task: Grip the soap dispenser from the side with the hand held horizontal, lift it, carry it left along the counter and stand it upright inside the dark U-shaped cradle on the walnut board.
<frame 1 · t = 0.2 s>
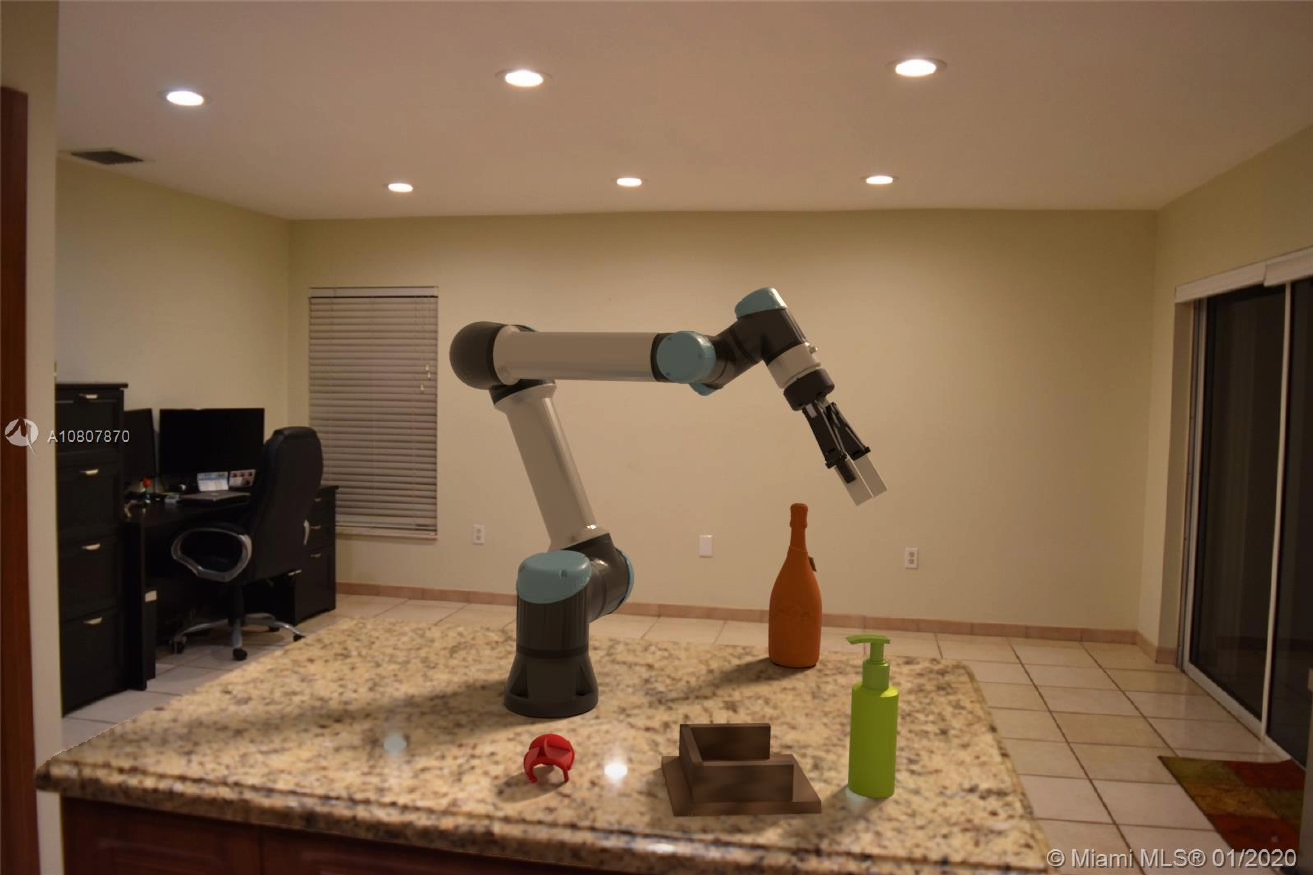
hand: (873, 497, 137), 35 cm above the counter, tool tilted 35°, fingers open, 13 cm apart
cap: (548, 779, 118), on the counter
wine bottle: (793, 662, 170), on the counter
soap dispenser: (866, 789, 117), on the counter
u rest: (736, 788, 116), on the counter
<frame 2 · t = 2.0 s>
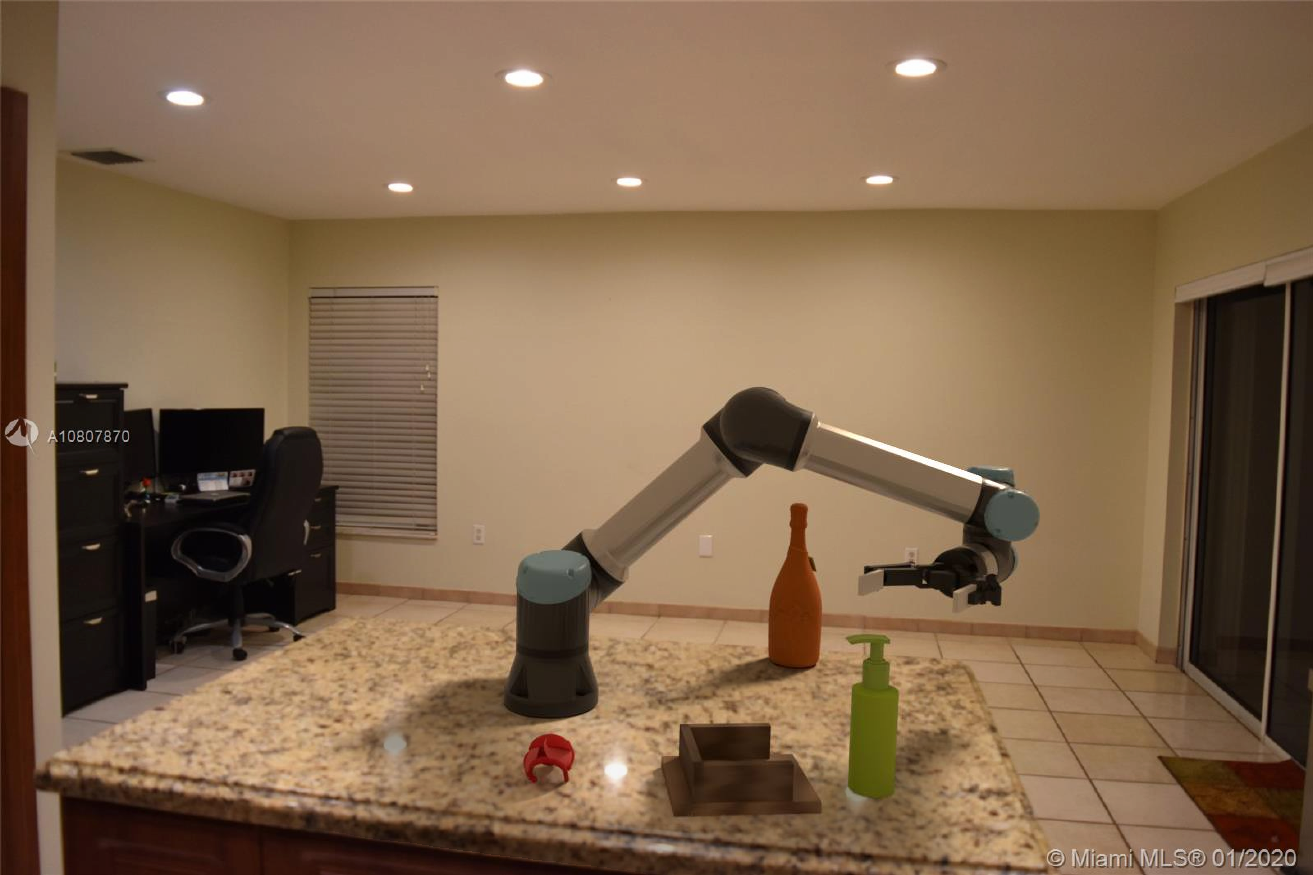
hand: (906, 594, 123), 24 cm above the counter, tool horizontal, fingers open, 13 cm apart
nothing on the counter moved.
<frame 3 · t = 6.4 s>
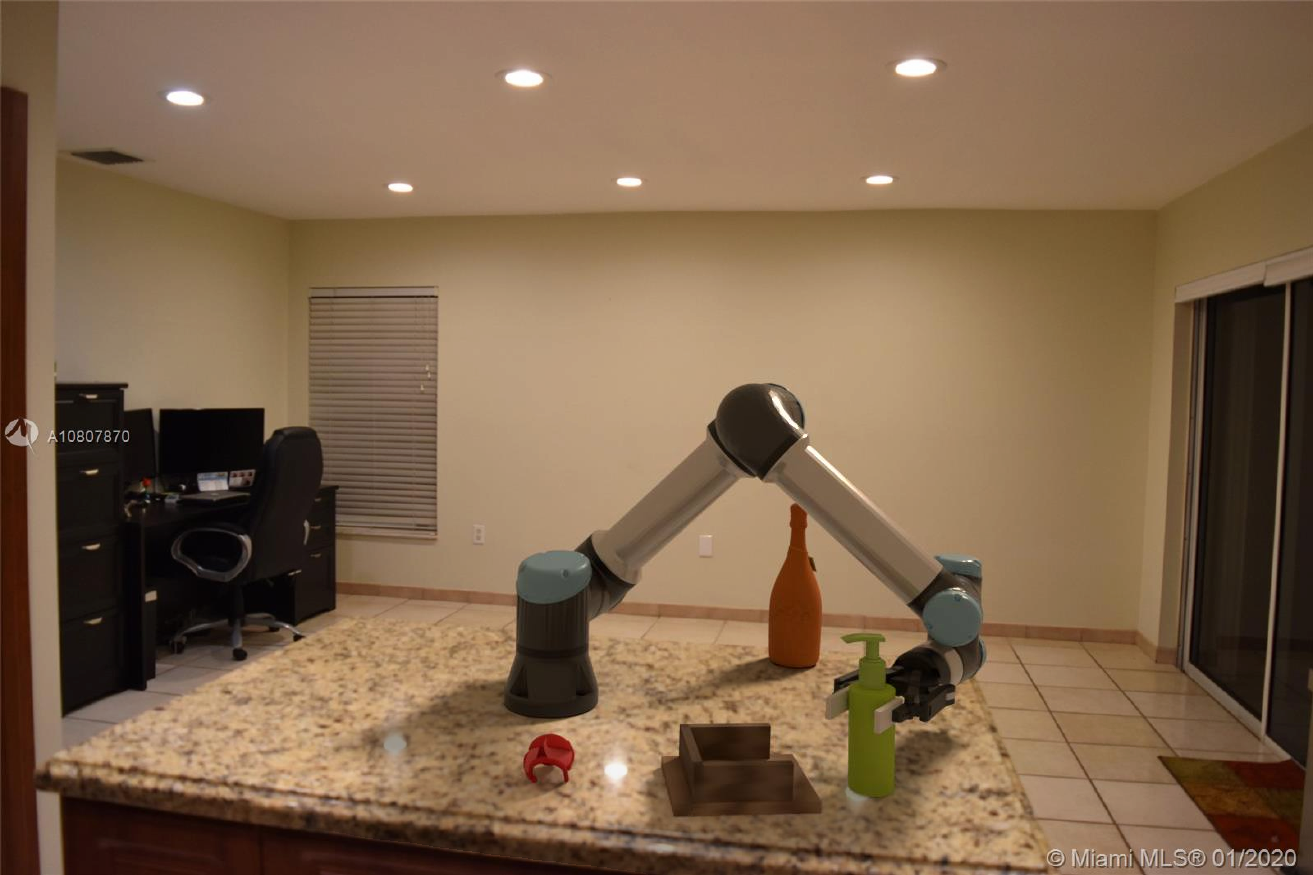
hand: (852, 715, 113), 11 cm above the counter, tool horizontal, fingers closed on soap dispenser, 6 cm apart
soap dispenser: (867, 789, 117), on the counter, touching gripper
everything else where it was.
when the fingers open (14 cm above the counter, at t = 11.4 s): soap dispenser drops 2 cm, resting on u rest.
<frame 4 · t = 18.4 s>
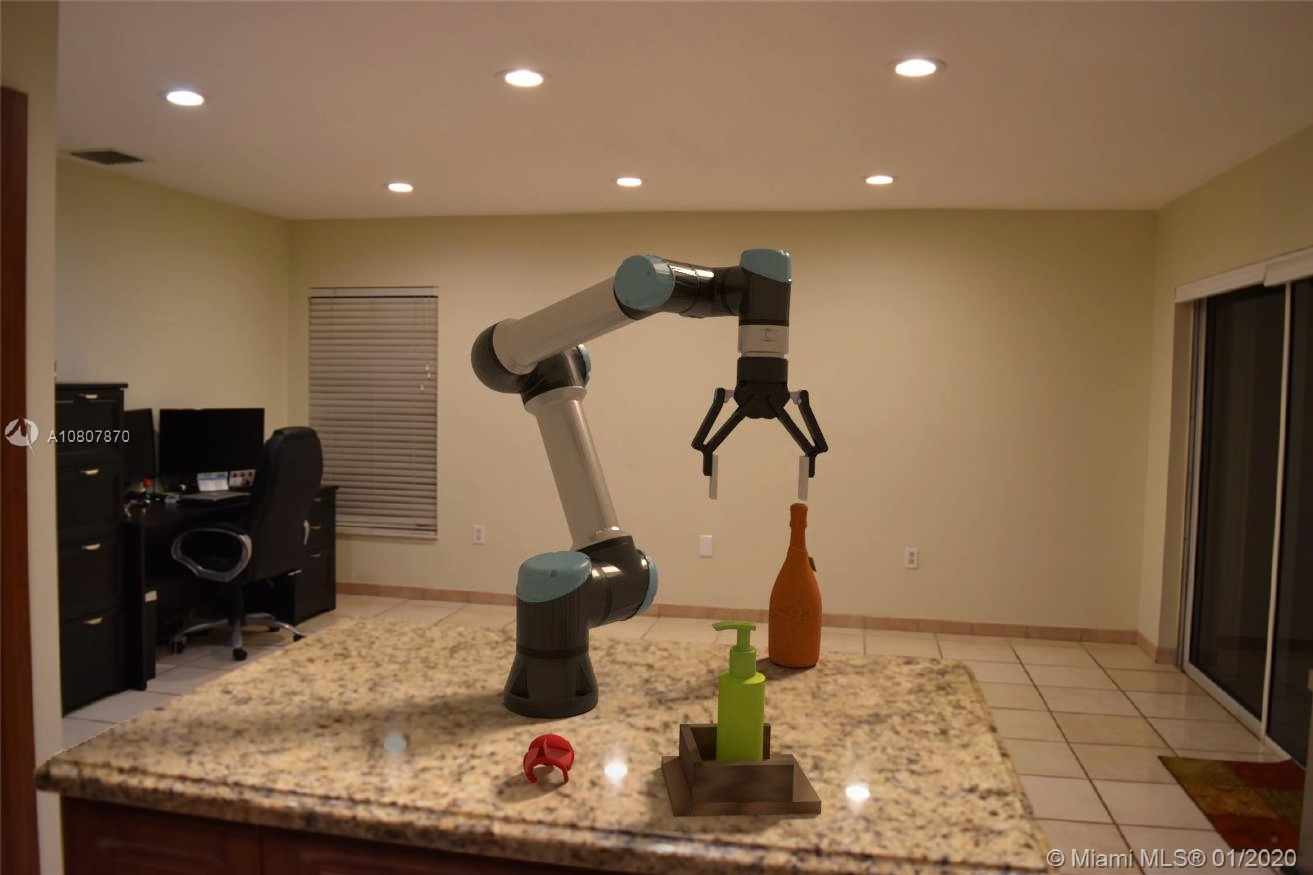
hand: (757, 499, 135), 35 cm above the counter, tool pointing down, fingers open, 13 cm apart
soap dispenser: (734, 777, 116), point 1 cm above the counter, touching u rest
everything else where it was.
at the end: soap dispenser 0.4 cm off-centre on the u rest, point 1.3 cm above the u rest's base; soap dispenser tilted 0°; the gripper is holding nothing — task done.
